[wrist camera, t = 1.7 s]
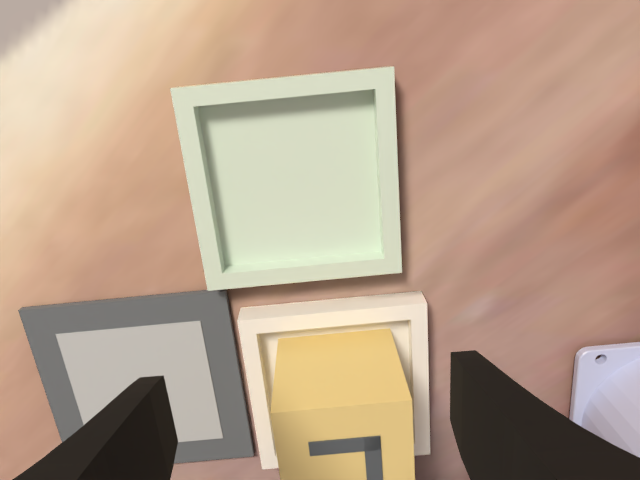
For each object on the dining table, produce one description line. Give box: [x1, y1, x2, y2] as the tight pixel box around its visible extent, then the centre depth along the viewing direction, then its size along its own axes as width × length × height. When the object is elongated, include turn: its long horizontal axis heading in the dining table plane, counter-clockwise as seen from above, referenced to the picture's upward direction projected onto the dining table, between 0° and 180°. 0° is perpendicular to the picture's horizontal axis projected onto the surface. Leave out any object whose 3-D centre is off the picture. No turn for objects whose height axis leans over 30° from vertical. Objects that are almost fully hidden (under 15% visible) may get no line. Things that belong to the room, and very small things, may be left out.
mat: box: [18, 289, 254, 463], centre depth 23 cm, size 9×9×1 cm
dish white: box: [237, 291, 430, 469], centre depth 23 cm, size 8×8×1 cm
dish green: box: [170, 66, 402, 291], centre depth 20 cm, size 8×8×1 cm
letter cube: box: [270, 328, 415, 480], centre depth 21 cm, size 5×5×5 cm
